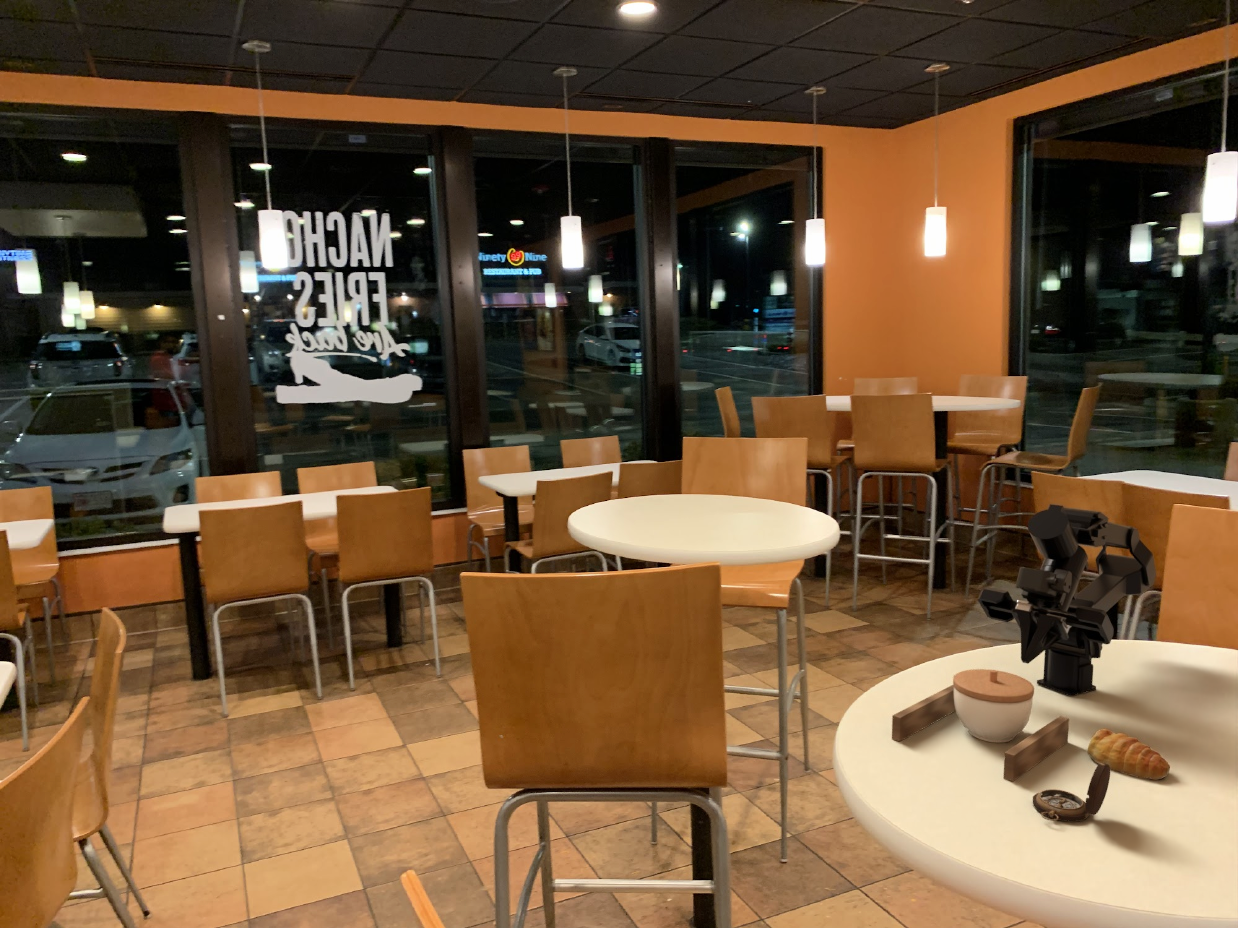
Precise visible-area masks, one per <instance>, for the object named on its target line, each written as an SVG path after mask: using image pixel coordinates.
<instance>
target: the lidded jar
mask: <svg viewBox="0 0 1238 928" xmlns="http://www.w3.org/2000/svg"><path fill="white" fill-rule="evenodd" d="M952 685H953V686H954V705H955V710H956V711H955V713H956V716H957V718H958V719H959V721H960V722H961V724H962V725H963V726H964V727H965V728H966V730H967V732H968V733H969V735H971V736H972V737H974V738H976V739H978V740H981V741H984V742H989V743H1008V742H1010V741H1012V740H1013V739H1014V738H1015V737H1016V736H1017V735H1018V734H1020V733H1021V732H1022V731H1023V730H1024V729H1025V727H1026V726H1027V724H1028V722H1029V721H1030V717H1031V714H1032V709H1033V701H1034V694H1035V687H1034V685H1033V684H1032V682H1031V681H1029V680H1028V679H1026V678H1024V677H1022V676H1019V675H1017V674H1014V673H1010V672H1006V671H1003V670H996V669H985V668H984V669H983V668H980V669H979V668H977V669H974V668H973V669H966V670H962V671H959V672H958V673H957V672H956V674H955V675H953V677H952Z"/></svg>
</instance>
